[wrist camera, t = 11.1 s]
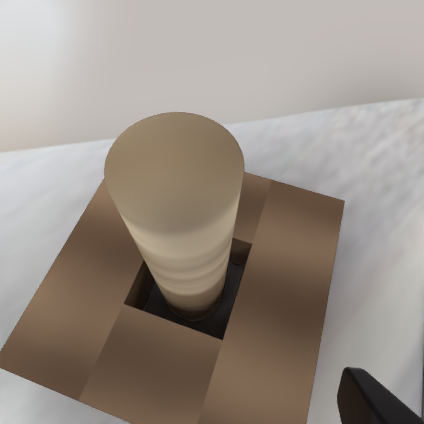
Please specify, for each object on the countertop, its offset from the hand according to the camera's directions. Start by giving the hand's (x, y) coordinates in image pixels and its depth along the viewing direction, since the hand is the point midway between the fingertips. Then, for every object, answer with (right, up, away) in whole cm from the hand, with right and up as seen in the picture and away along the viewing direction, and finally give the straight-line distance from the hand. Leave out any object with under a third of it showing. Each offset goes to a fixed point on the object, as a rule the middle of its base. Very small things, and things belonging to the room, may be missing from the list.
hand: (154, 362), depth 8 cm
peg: (0, -1, +13) cm, 13 cm away
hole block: (0, -1, +13) cm, 13 cm away
